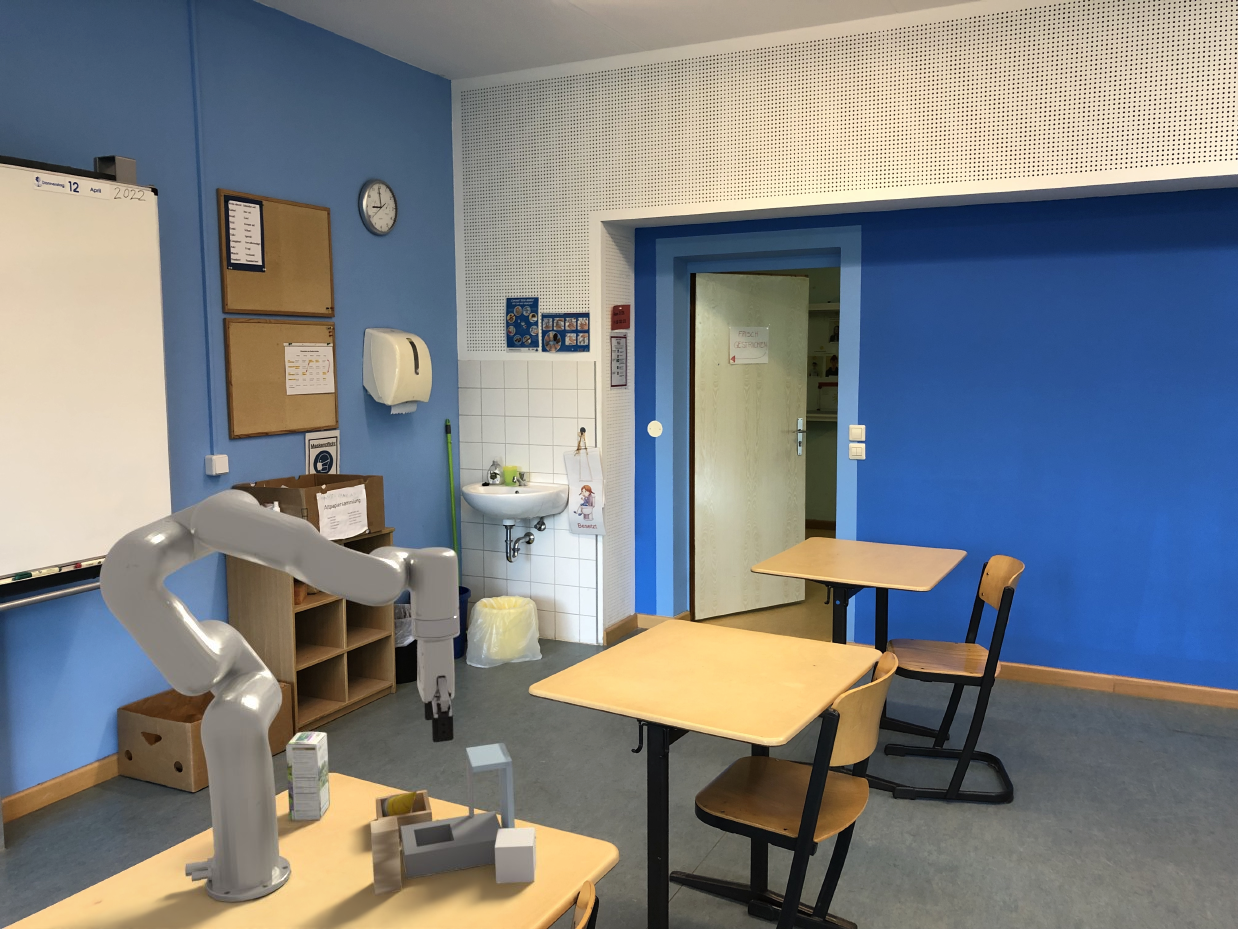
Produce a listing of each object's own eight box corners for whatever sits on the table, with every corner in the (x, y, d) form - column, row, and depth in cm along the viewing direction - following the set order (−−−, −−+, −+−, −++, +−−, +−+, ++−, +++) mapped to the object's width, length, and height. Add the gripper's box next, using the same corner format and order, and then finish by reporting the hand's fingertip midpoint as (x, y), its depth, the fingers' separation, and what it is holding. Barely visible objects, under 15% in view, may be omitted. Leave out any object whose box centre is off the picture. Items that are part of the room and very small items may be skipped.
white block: (499, 863, 154) (498, 828, 153) (536, 862, 154) (535, 827, 154) (496, 883, 148) (494, 847, 147) (534, 882, 148) (533, 845, 148)
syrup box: (300, 806, 176) (295, 731, 174) (331, 805, 176) (327, 731, 174) (289, 821, 170) (284, 744, 169) (321, 820, 170) (317, 743, 169)
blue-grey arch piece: (476, 860, 155) (472, 766, 153) (469, 837, 163) (465, 748, 161) (515, 853, 157) (512, 760, 155) (507, 830, 165) (503, 742, 163)
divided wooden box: (379, 842, 162) (377, 820, 161) (376, 818, 170) (375, 797, 170) (432, 833, 164) (431, 811, 164) (427, 810, 173) (426, 789, 172)
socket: (406, 879, 150) (405, 855, 149) (401, 848, 159) (400, 826, 159) (506, 861, 154) (505, 838, 154) (495, 832, 164) (494, 810, 164)
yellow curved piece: (404, 813, 172) (433, 786, 167) (396, 838, 167) (425, 811, 163) (379, 800, 170) (407, 772, 166) (370, 825, 166) (399, 796, 161)
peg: (375, 895, 145) (371, 833, 144) (373, 881, 149) (370, 821, 148) (401, 890, 147) (398, 829, 146) (399, 877, 150) (396, 817, 149)
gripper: (406, 614, 157) (409, 714, 159) (418, 643, 141) (421, 753, 142) (451, 610, 159) (454, 708, 161) (468, 638, 143) (471, 746, 145)
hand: (438, 729), depth 152 cm, fingers open, 9 cm apart
